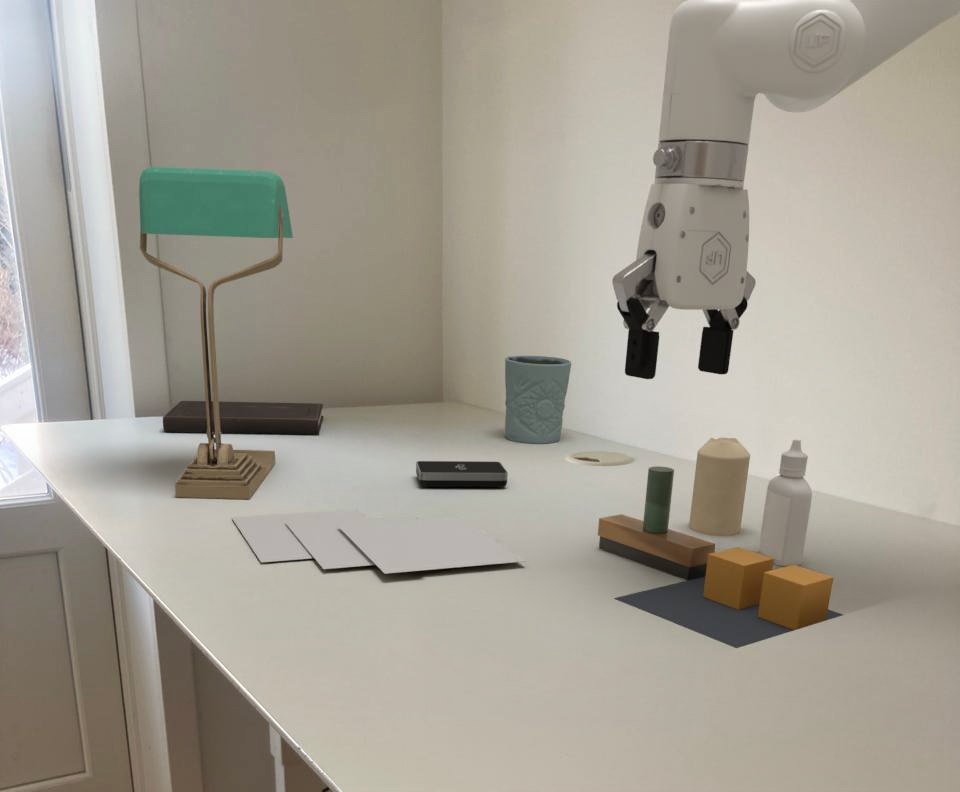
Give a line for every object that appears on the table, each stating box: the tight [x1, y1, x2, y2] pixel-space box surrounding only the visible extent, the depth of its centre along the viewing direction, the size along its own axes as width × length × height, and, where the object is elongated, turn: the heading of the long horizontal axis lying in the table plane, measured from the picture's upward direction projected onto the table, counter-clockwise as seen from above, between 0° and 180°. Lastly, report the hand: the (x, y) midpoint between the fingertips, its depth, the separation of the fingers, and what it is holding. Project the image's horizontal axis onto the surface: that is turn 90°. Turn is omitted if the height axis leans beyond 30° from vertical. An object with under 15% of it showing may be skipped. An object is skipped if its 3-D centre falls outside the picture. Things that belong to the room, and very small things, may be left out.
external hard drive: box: [415, 460, 508, 489], centre depth 129 cm, size 7×11×2 cm, turn 98°
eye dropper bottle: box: [758, 439, 813, 567], centre depth 101 cm, size 4×6×12 cm
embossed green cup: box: [504, 355, 572, 444], centre depth 157 cm, size 10×10×12 cm
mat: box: [614, 576, 844, 649], centre depth 87 cm, size 14×18×1 cm
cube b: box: [703, 547, 774, 610], centre depth 90 cm, size 4×4×4 cm
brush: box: [597, 465, 716, 581], centre depth 99 cm, size 3×12×9 cm, turn 37°
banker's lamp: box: [138, 166, 294, 500], centre depth 121 cm, size 16×21×35 cm
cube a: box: [758, 565, 834, 631], centre depth 85 cm, size 4×4×4 cm
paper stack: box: [231, 508, 526, 575], centre depth 103 cm, size 23×25×1 cm
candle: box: [688, 436, 751, 537], centre depth 111 cm, size 6×6×10 cm
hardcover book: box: [162, 400, 324, 436], centre depth 162 cm, size 16×23×2 cm
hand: (677, 374), depth 94 cm, fingers open, 9 cm apart
